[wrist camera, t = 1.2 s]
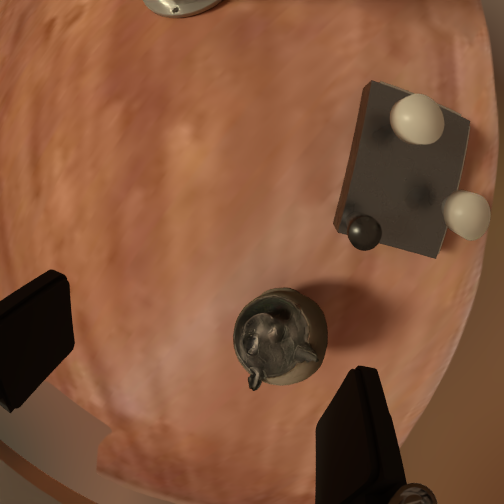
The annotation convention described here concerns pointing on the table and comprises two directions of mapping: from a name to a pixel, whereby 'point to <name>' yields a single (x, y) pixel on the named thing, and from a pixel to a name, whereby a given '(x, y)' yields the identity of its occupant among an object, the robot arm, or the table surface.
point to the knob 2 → (466, 214)
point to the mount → (401, 174)
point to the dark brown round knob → (363, 231)
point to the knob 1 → (417, 120)
